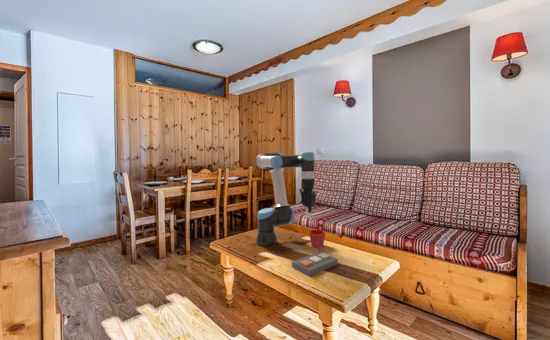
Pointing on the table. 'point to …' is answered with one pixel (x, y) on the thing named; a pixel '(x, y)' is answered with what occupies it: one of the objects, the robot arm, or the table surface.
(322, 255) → the sage button
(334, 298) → the table surface
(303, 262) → the rust button
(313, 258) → the cream button
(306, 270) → the button panel
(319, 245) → the flower pot
